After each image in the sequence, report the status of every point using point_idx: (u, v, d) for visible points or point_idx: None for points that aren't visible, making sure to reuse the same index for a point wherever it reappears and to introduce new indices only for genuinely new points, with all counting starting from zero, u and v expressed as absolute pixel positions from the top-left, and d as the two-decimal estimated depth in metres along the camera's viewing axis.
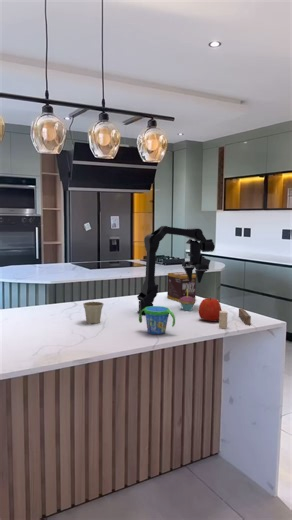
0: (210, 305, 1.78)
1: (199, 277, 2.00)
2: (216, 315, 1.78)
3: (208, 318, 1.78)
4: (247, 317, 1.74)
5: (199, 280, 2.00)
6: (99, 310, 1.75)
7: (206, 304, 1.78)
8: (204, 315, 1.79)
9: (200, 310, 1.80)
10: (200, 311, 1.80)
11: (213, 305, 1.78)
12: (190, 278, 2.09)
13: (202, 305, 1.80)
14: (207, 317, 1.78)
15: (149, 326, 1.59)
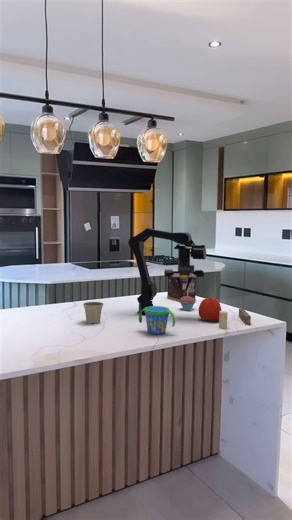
0: (210, 305, 1.78)
1: (178, 284, 1.87)
2: (216, 315, 1.78)
3: (208, 318, 1.78)
4: (247, 317, 1.74)
5: (179, 287, 1.87)
6: (99, 310, 1.75)
7: (206, 304, 1.78)
8: (204, 315, 1.79)
9: (200, 310, 1.80)
10: (200, 311, 1.80)
11: (213, 305, 1.78)
12: (186, 288, 1.87)
13: (202, 305, 1.80)
14: (207, 317, 1.78)
15: (149, 326, 1.59)
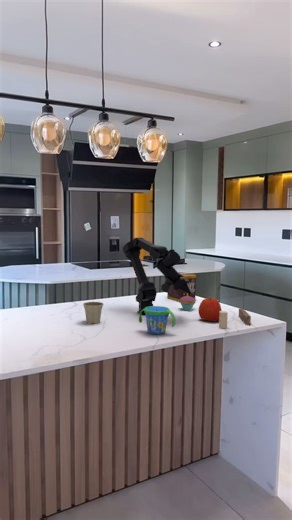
0: (210, 305, 1.78)
1: None
2: (216, 315, 1.78)
3: (208, 318, 1.78)
4: (247, 317, 1.74)
5: None
6: (99, 310, 1.75)
7: (206, 304, 1.78)
8: (204, 315, 1.79)
9: (200, 310, 1.80)
10: (200, 311, 1.80)
11: (213, 305, 1.78)
12: None
13: (202, 305, 1.80)
14: (207, 317, 1.78)
15: (149, 326, 1.59)
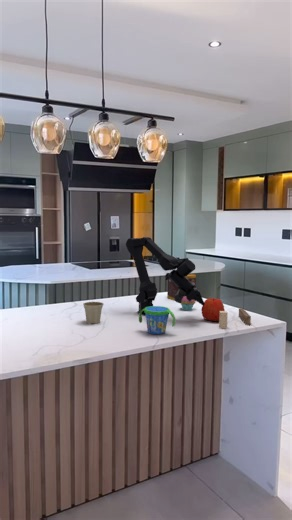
0: (213, 305, 1.78)
1: None
2: None
3: (211, 318, 1.78)
4: (247, 317, 1.74)
5: None
6: (99, 310, 1.75)
7: (209, 304, 1.78)
8: (207, 315, 1.79)
9: (203, 310, 1.80)
10: (203, 311, 1.80)
11: (216, 305, 1.78)
12: None
13: (205, 305, 1.80)
14: (210, 317, 1.78)
15: (149, 326, 1.59)
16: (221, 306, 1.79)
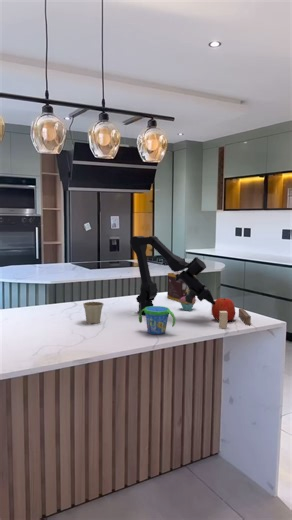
0: (224, 305, 1.78)
1: None
2: (230, 315, 1.78)
3: None
4: (247, 317, 1.74)
5: None
6: (99, 310, 1.75)
7: (220, 304, 1.79)
8: (218, 314, 1.79)
9: (214, 309, 1.80)
10: (214, 310, 1.80)
11: (227, 305, 1.78)
12: None
13: (216, 304, 1.80)
14: None
15: (149, 326, 1.59)
16: (232, 306, 1.79)
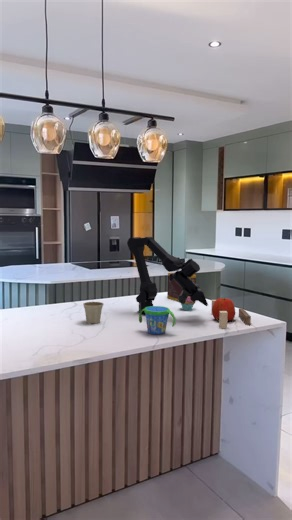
0: (224, 305, 1.78)
1: None
2: (230, 315, 1.78)
3: None
4: (247, 317, 1.74)
5: None
6: (99, 310, 1.75)
7: (220, 304, 1.79)
8: (218, 315, 1.79)
9: (214, 309, 1.80)
10: (214, 310, 1.80)
11: (227, 305, 1.78)
12: None
13: (216, 304, 1.80)
14: None
15: (149, 326, 1.59)
16: (232, 306, 1.79)
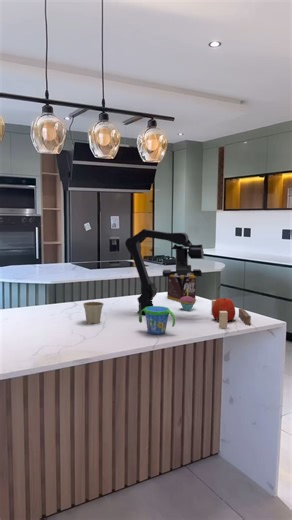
0: (224, 305, 1.78)
1: (179, 284, 1.89)
2: (230, 315, 1.78)
3: None
4: (247, 317, 1.74)
5: (180, 287, 1.89)
6: (99, 310, 1.75)
7: (220, 304, 1.79)
8: (218, 315, 1.79)
9: (214, 309, 1.80)
10: (214, 310, 1.80)
11: (227, 305, 1.78)
12: None
13: (216, 304, 1.80)
14: None
15: (149, 326, 1.59)
16: (232, 306, 1.79)
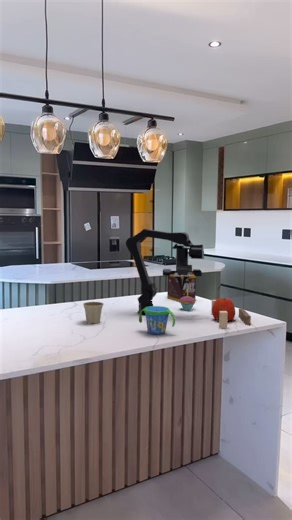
0: (224, 305, 1.78)
1: (179, 283, 1.89)
2: (230, 315, 1.78)
3: None
4: (247, 317, 1.74)
5: (180, 287, 1.89)
6: (99, 310, 1.75)
7: (220, 304, 1.79)
8: (218, 315, 1.79)
9: (214, 309, 1.80)
10: (214, 310, 1.80)
11: (227, 305, 1.78)
12: None
13: (216, 304, 1.80)
14: None
15: (149, 326, 1.59)
16: (232, 306, 1.79)
